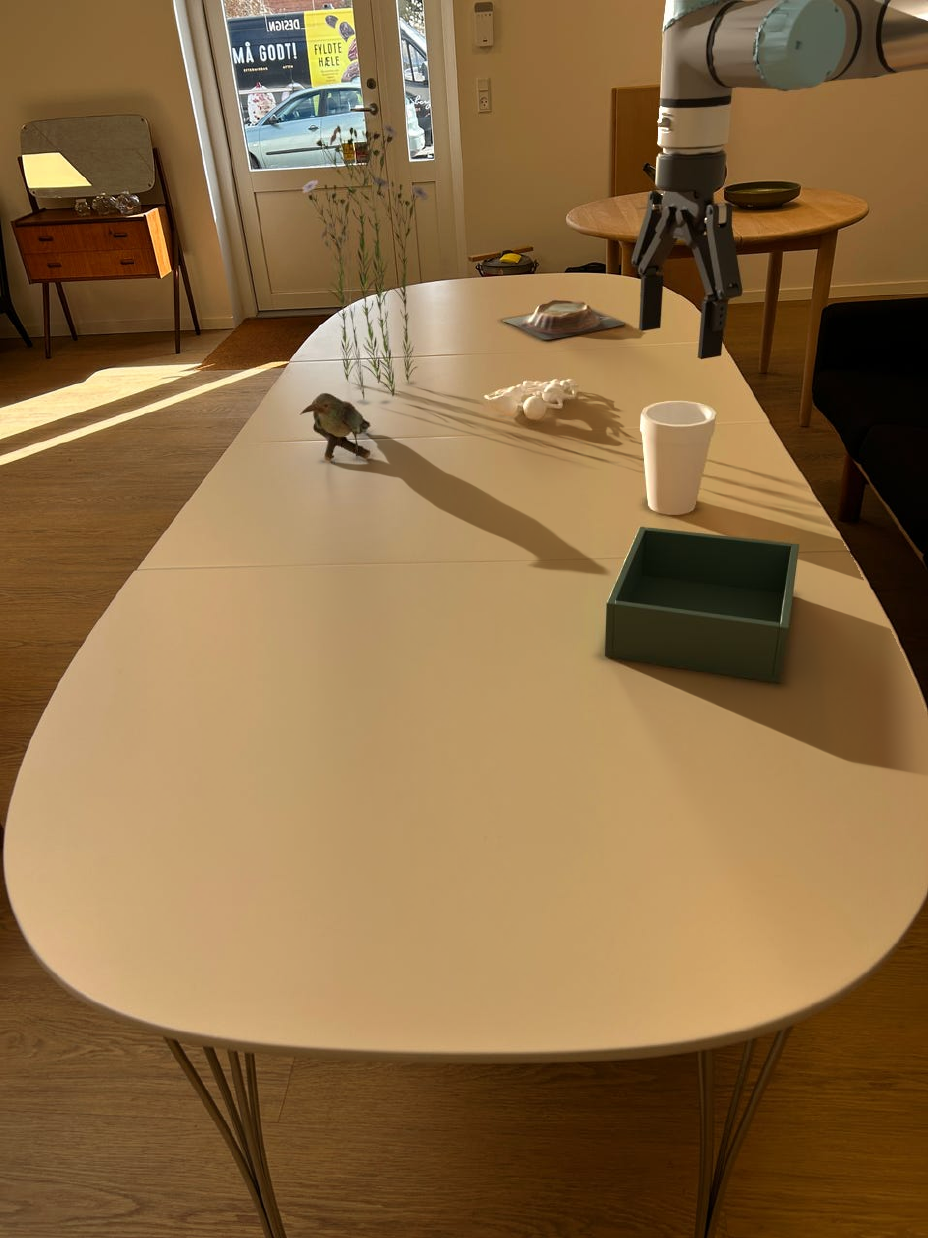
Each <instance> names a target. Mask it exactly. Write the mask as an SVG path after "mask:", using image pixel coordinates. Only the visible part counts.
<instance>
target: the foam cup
mask: <svg viewBox="0 0 928 1238" xmlns="http://www.w3.org/2000/svg"><path fill="white" fill-rule="evenodd" d="M716 419H717V412H716V411H715V409H713V408H712V406H709V405H706V404H703V403H701V402H694V401H687V400H665V401H661V402H655V403H651V404H650V405H647V406H644V407H643V409H642V411H641V412H640V427H639V431H640V433H641V438H642V447H643V448H642V450H643V462H644V474H645V485H646V496H647V497H646V498H647V502H648V503H647V505H648V507H649V508H650V510H651V511H654V512H656V513H658V514H662V515H667V516H681V515H684V514H685V515H686V514H689V513H690V512H692V511H694V510H695V508H696V504H697V500H698V497H699V492H700V488H701V484H702V479H703V475H704V471H705V468H706V467H705V466H706V462H707V458H708V453H709V449H710V445H711V441H712V437H714V434H715V431H716Z"/></svg>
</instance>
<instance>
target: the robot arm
mask: <svg viewBox="0 0 928 1238" xmlns="http://www.w3.org/2000/svg"><path fill="white" fill-rule="evenodd" d="M661 36H662V49H661V50H662V51H661V52H662V53H661V74H660V75H661V77H660V94H659V95H660V97H659V98H660V99H659V106H660V107H659V118H658V120H657V126H658V136H657V137H658V138H657V145H658V146H659V148H661V149H663V150H662V151H660V152H658V155H657V156H656V166H655V187H656V188H657V189H656V190H650V191H648V193H647V199H646V200H647V201H646V210H645V213H644V217H643V220H642V224H641V227H640V230H639V233H638V237H637V239H636V243H635V246H634V249H633V253H632V255H631V260H630V264H631V267H632V268H636V269H637V272H638V275H639V276H640V292H639V297H640V299H639V301H640V302H639V319H638V320H639V321H638V330H639V331H641V332H645V331H652V330H658V329H661V327H662V326H661V325H662V310H663V292H664V274H661V273H664V272H665V270H664V267H663V265H664V264H665V262H666V261H667V259H668V257H669V256H670V254H671V252H672V250H673V248H674V247H675V245H676V243H677V242H678V239H679V241H682V242H685V244H686V247H687V248H688V249H691V251H692V253H693V257H694V260H695V263H696V266H697V269H698V272H699V276H700V278H701V282H702V285H703V288H704V291H705V294H706V295H705V297H704V298H703V299H701V300H702V301H701V311H700V312H701V313H700V322H699V324H700V326H699V334H698V335H699V337H698V349H697V358H698V359H700V360H704V359H710V358H717V357H721V356H722V354H723V353H722V351H723V341H724V330H725V328H726V325H727V315H728V307H729V306H728V305H729V302H730V300H731V299H734V298H738V297H741V296H742V295H743V285H742V278H741V272H740V267H739V260H738V254H737V249H736V243H735V236H734V230H733V205H732V203H731V202H723V203H722V202H721V203H715V192H716V190H718V189H720V188H721V187H722V186H723V185H724V184H725V176H726V175H725V174H726V164H727V153H726V152H725V150H724V149H722V148H723V147H724V146H725V145H727V144H728V143H729V137H730V136H729V135H730V125H731V123H730V122H731V110H732V109H731V108H732V97H733V96H732V95H733V89H737V88H741V89H743V88H744V89H762V90H763V89H765V90H766V89H770V90H777V91H778V92H779V91H780V92H788V91H794V90H795V91H799V90H803V89H804V90H805V89H813V88H816V87H818V86H820V85H822V84H823V83H829V82H835V81H847V80H856V79H859V80H863V79H865V80H866V79H873V78H875V79H877V78H880V77H883V76H887V75H894V74H898V73H904V72H905V73H906V72H913V71H921V70H928V0H665V10H664V19H663V27H662V29H661Z"/></svg>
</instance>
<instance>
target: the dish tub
mask: <svg viewBox="0 0 928 1238" xmlns="http://www.w3.org/2000/svg"><path fill="white" fill-rule="evenodd" d="M799 550H800V543H794V542H786V541H776V540H766V539H758V538H748V537H740V536H731V535H722V534H711V533H705V532H704V533H703V532H695V531H686V530H677V529H676V530H675V529H674V530H673V529H666V528H659V527H648V526H639V528H638V529H637V532H636V534H635V537H634V539H633V541H632V544H631V546H630V548H629V551H628V553H627V555H626V557H625V559H624V562H623V565H622V567H621V569H620V571H619V574H618V576H617V578H616V580H615V583H614V585H613V587H612V590H611V592H610V595H609V597H608V599H607V600H606V604H605V605H606V607H605V608H606V609H605V612H606V613H605V633H604V635H605V637H604V638H605V640H604V657H606V658H613V659H619V660H624V661H625V660H626V661H632V662H638V663H644V664H651V665H657V666H664V667H669V668H677V669H683V670H690V671H697V672H702V673H708V674H715V675H720V676H721V675H722V676H729V677H734V678H735V677H736V678H741V679H748V680H754V681H759V682H760V681H761V682H765V683H767V682H768V683H774V684H780V683H781V680H782V672H783V667H784V661H785V654H786V648H787V641H788V635H789V631H790V630H789V629H790V622H791V613H792V605H793V598H794V592H795V591H794V590H795V582H796V576H797V575H796V574H797V566H798V558H799Z"/></svg>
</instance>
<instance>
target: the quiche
mask: <svg viewBox="0 0 928 1238" xmlns="http://www.w3.org/2000/svg"><path fill="white" fill-rule="evenodd" d="M502 322H504V323H507V324H510V325H512V326H514V327H518V328H519V329H521V330H523V331H524V332H527V333H529V334H531V335H532V336H535V337H536V338H538V339H541V340H543V341H544V340H555V339H562V338H566V337H572V336H577V335H582V334H587V333H592V332H597V331H601V330H605V329H610V328H615V327H619V326H624V325H627V322H625V321H622V320H619V319H616V318H611V317H608V316H605V315H603V314H601V313H599V312H597V311H595V310H593V309H592V308H591V306H590V305H588V304H586V303H585V302H584V301H580V300H577V301H572V300H565V299H564V300H561V299H560V300H559V299H552V300H551V301H548V302H546V303H541V304H540V305H538V306H537V308H536V309H535V311H534V313H531V314H526V315H522V316H517V317H511V318H506V319H502Z"/></svg>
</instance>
